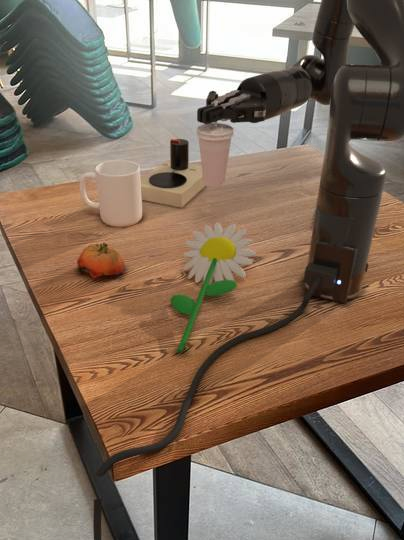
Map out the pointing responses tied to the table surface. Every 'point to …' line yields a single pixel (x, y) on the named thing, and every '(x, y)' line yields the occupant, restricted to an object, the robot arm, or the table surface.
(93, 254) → the tomato
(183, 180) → the burner ring
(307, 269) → the robot arm
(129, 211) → the cup
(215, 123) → the smoothie
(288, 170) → the table surface
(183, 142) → the stove knob
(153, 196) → the hob
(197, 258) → the decorative flower
